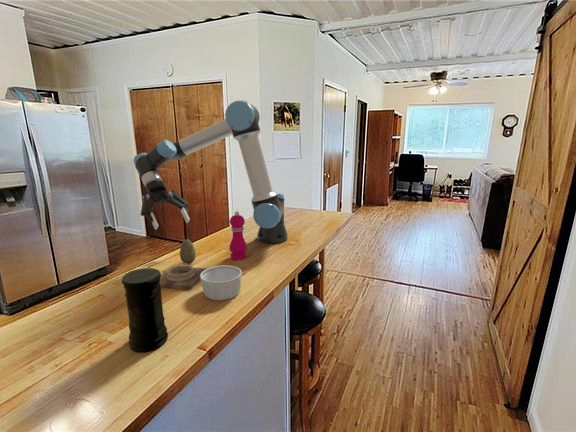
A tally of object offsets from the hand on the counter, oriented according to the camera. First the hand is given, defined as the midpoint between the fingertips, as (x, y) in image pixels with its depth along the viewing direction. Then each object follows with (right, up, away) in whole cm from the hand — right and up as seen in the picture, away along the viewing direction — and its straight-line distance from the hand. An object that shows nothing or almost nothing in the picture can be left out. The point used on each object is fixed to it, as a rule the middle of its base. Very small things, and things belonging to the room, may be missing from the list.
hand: (173, 224), depth 129 cm
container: (+13, -28, -51) cm, 60 cm away
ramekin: (+26, -22, -27) cm, 43 cm away
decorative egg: (+7, -16, -3) cm, 18 cm away
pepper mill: (+26, -14, +3) cm, 30 cm away
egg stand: (+9, -19, -17) cm, 27 cm away
